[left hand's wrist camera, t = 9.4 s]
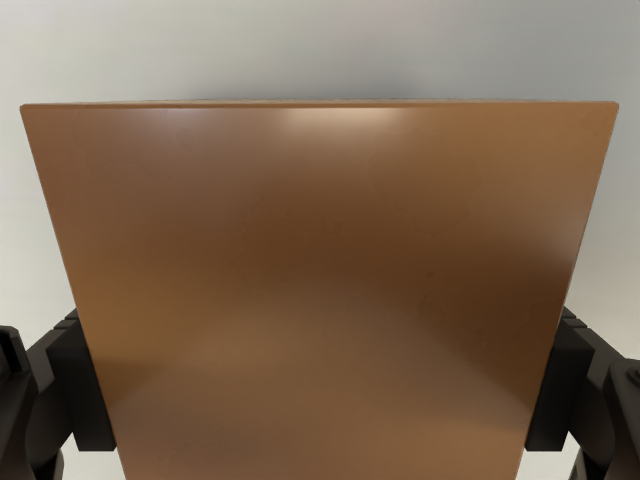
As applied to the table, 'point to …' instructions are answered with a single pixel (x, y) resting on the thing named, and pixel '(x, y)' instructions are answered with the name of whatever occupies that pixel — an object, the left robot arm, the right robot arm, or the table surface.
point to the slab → (320, 276)
